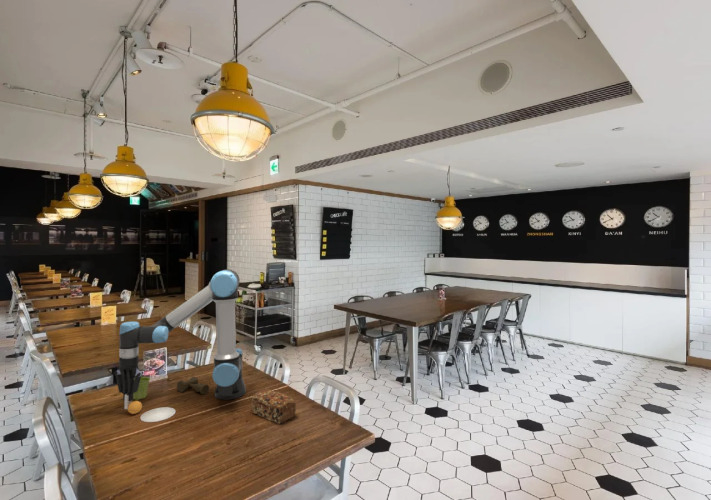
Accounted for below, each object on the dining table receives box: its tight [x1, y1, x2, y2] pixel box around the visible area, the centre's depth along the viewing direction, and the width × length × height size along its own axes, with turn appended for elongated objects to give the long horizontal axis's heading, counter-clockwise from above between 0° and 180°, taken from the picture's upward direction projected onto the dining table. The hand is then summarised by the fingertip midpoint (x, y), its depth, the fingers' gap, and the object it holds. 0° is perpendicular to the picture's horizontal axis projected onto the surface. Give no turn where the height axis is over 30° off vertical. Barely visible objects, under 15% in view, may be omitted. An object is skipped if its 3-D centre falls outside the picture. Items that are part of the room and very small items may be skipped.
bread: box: [251, 388, 296, 424], centre depth 166 cm, size 19×11×10 cm, turn 55°
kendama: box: [176, 376, 210, 395], centre depth 193 cm, size 6×10×20 cm
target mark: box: [139, 406, 176, 423], centre depth 165 cm, size 14×14×1 cm
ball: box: [127, 400, 143, 415], centre depth 166 cm, size 6×6×6 cm
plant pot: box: [133, 376, 151, 401], centre depth 183 cm, size 9×9×9 cm
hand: (128, 407), depth 166 cm, fingers closed
